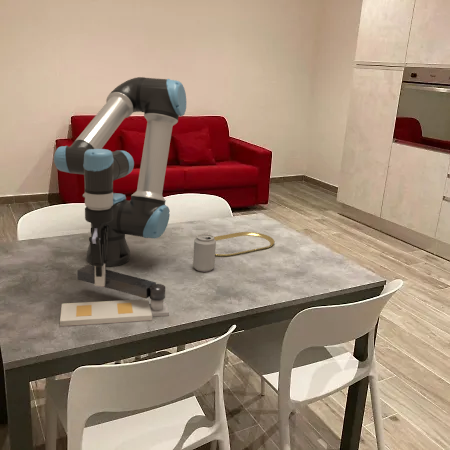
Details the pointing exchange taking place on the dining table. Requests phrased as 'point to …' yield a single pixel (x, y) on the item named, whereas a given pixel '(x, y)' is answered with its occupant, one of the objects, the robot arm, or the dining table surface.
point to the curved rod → (244, 235)
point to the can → (204, 252)
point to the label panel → (111, 311)
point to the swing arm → (124, 283)
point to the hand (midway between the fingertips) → (100, 285)
